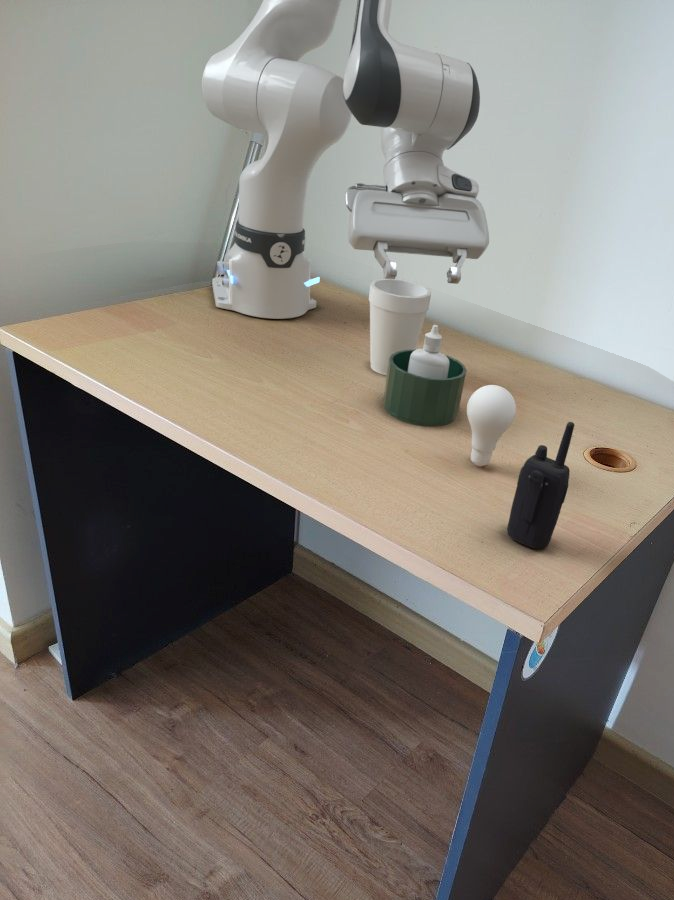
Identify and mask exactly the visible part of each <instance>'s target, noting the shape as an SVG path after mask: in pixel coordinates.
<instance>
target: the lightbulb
mask: <svg viewBox="0 0 674 900" xmlns="http://www.w3.org/2000/svg"><path fill="white" fill-rule="evenodd" d="M516 414H517V405H516V401H515V398H514V397H513V395H512V393H511V392H510V391H508V389H506V388H504V387H503V386H500V385H496V384H488V385H487V384H486V385H484V386H481V387H479V388H478V389H476V390H475V391H474V392H473V393H472V394H471V395H470V397H469V400H468V401H467V404H466V415H467V419H468V423H469V425H470V429H471V442H470V444H471V453H470V461H471V462H472V463H473V464H474V465H475V466H476V467H480V468H481V467H483V466H487V465H489V463H490V461H491V459H492V455H493V453H494V451H495V450H496V447H497V444H498V441H499V440H500V438H501V437H502V435H503V434H504V433H505V432H506V430H508V429H509V428H510V426H511V425H512V424H513V422H514V420H515V418H516Z"/></svg>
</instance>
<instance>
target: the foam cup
mask: <svg viewBox="0 0 674 900" xmlns="http://www.w3.org/2000/svg"><path fill="white" fill-rule="evenodd" d="M368 294H369V295H368V301H369V333H370V334H369V354H370V355H369V357H370V358H369V360H370V361H369V363H370V369H371V370H372V372H373V371H374V372H375V373H377V374H379V375H383V376H387V370H388V363H389V358H390V356H391V355H392V354H394V353H395V352H398V351H403V350H417V346H418V342H419V339H420V336H421V332H422V329H423V326H424V323H425V319H426V316H427V312H428V311H429V309H430V305H431V304H430V303H431V297H432V290H431V289H429V288H428V287H427V286H426V285H423V284H420V283H417V282H415V281H410V280H406V279H400V278H395V279H384V278H377V279H374V280H371V282H370V286H369V293H368Z"/></svg>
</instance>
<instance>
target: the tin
mask: <svg viewBox="0 0 674 900" xmlns="http://www.w3.org/2000/svg"><path fill="white" fill-rule="evenodd" d="M413 351H415V350H403V351H398V352H395V353H394V354H392V355H391V356H390V358H389V363H388V370H387V375H386V377H385V385H384V392H383V393H384V394H383V400H382V401H383V403H382V405H383V406H382V407H383V409H384V410H385V412H387V414H389V415H390V416H391V417H393V418H395V419H397V420H399V421H401V422H405V423H407V424H412V425H415V426H423V427H440V426H441V427H442V426H446V425H450V424H452V423H454V422H455V421H456V420H457V418H458V415H459V412H460V406H461V401H462V396H463V392H464V385H465V381H466V376H467V371H468V369H467V367H466V366H465V364H464V363H462V362H461V361H460V360H459V359H456V358H454V357H452V356H450V355H448V354H444V355H445V356H446V357H447V358H448V359H449V370H448V376H447V378H444V379H437V378H427V377H422V376H417V375H414V374H411V373H408V366H409V360H410V356H411V354H412V352H413Z"/></svg>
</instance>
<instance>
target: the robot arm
mask: <svg viewBox="0 0 674 900" xmlns="http://www.w3.org/2000/svg"><path fill="white" fill-rule="evenodd" d="M342 1H343V0H262V2H261V4H260V6H259V8H258V10H257V12H256V14H255V15H254V17H252V20H250V23H249V24H248V26H247V27H246V28H245V29H244V30H243V32H242V33H241V34H240V35H239V36H238V37H237V38H236V39H235V40H234V41H233V42H231V44H229V45H228V46H227V47H225V48H223V49H222V50H219V51H218V52H216V53H214V54H213V55H211V56H210V58H209V59H208V61H207V62H206V64H205V66H204V69H203V71H202V77H201V92H202V95H203V96H202V97H203V100H204V103H205V106H206V108H207V110H208V111H209V113H210V114H211V115H212V116H213V117H215V118H216V119H218V120H220V121H223V122H224V123H226V124H228V125H230V126H232V127H234V128H237V129H239V130H244V131H249V132H253V133H257V134H261V135H266V136H268V139H267V140H268V141H267V147H266V150H265V153H264V155H263V156H262V158H260V159H256V160H255V161H253V162H251V163H249V164H247V165H246V167H245V168H244V169H243V170H242V172H241V173H240V175H239V179H238V220H237V221H236V222H235V227H234V232H233V234H234V236H233V241H234V244H233V245H232V246H231V248H230V249H229V250H228V252H227V253H225V254H224V261H223V260H217V261H216V274H217V275H220V276H216V277H213V278H212V280H211V287H212V292H213V297H214V303H215V307H217V308H219V309H223V310H224V309H225V310H228V311H233V312H237V313H240V314H243V315H247V316H250V317H256V318H261V319H273V320H276V319H277V320H279V319H280V320H281V319H282V320H285V319H294V318H299V317H301V316H304V315H305V314H306V313H307V312H308V311H310V310H312V309H315V308H317V300H315V299H313V298H312V297H311V286H313V285H315V284H318V283H320V279H321V278H320V276H317V277H315V278H311V262H310V261H309V260H308V258H307V257H306V256H305V255H304V252H305V247H306V245H305V244H306V229H305V228H304V220H305V219H304V218H305V208H306V198H307V192H308V191H307V190H308V185H309V180H310V177H311V175H312V172H313V171H314V168H315V166H316V164H317V162H318V161H319V159H320V158H321V157H322V155H323V154H324V153H325V152H326V151H327V150H328V149H329V148H330V147H332V146H333V145H335V144H336V143H338V142H339V141H340V140H341V139H342V138H343V137H344V136H345V134H346V132H347V130H348V129H349V127H350V124H351V120H352V116H353V117H354V118H355V120H356V121H357V123H359V124H360V125H362V126H367V127H368V126H369V127H378V128H380V145H381V151H382V153H383V156H384V164H383V185H380V184H379V185H378V184H365V183H361V182H359V183H355V184H354V185H352V186H350V187H348V188H347V189H346V191H345V197H344V198H345V205H346V208H347V211H349V212H350V213H349V218H348V234H347V235H348V237H347V238H348V243H349V244H350V246H351V247H352V248H353V249H354V250H357V251H358V250H359V251H370V252H371V251H372V252H373V253H374V258H375V260H376V261H377V262H378V264H379V266H381V268H382V271H383V279H396V277H397V275H398V269H397V267H398V266H397V265H398V264H397V262H396V261H391V259H390V258H389V256H388V254H387V253H397V254H407V255H408V254H409V255H420V256H432V257H433V256H434V257H445V258H452V263H453V264H455V266H450V267H449V269H448V270H447V272H446V278H447V283H448V284H453V285H454V284H455V285H458V284H459V283H460V281H461V279H462V271H461V268H462V267H463V264H464V263H465V261H466V259H470V260H479V258H481V256H482V255H483V254H484V253H485V252H486V251H487V249H488V247H489V244H490V232H489V225H488V220H487V216H486V210H485V209H484V206H483V204H482V203H481V201H479V200H478V199H477V197H478V194H479V191H480V189H479V188H480V187H479V184H478V182H477V181H476V180H474V179H472V178H469V177H467V176H465V175H462V174H461V173H458V172H456V171H454V170H452V169H450V168H449V167H447V166H445V164H444V161H443V154H444V152H445V151H446V150H447V151H448V150H450V149H452V148H453V147H454V146H455V145H457V144H458V143H459V142H460V141H461V140H462V139H463V138H464V137H465V136H467V134H469V132H470V131H471V130H472V129H473V127H474V126H475V124H476V122H477V120H478V117H479V112H480V106H481V105H480V104H481V94H480V93H481V92H480V85H479V80H478V77H477V74H476V72H475V70H474V68H473V67H472V65H471V64H470V63H469V62H465V61H463V60H461V59H459V58H455V57H451V56H449V55H445V54H441V53H437V52H431V51H428V50H424V49H421V48H417V47H414V46H410V45H407V44H404V43H403V42H402V43H401V42H400V41H398V40H397V39H395V38H394V37H393V36H391V34H390V33H389V26H390V18H391V10H392V4H393V3H392V2H393V0H357V3H356V8H355V9H356V10H355V16H354V23H353V31H352V38H351V44H350V50H349V56H348V60H347V63H346V66H345V70H344V75H343V78H342V76H340V75H337V74H336V73H333V72H332V71H330V70H327V69H325V68H323V67H321V66H318V65H315V64H311V63H306V62H301V61H300V60H301V59H302V58H303V57H304V56H305V55H306V54H308V53H309V52H311V51H313V50H315V49H317V48H320V47H321V46H323V45H324V44H325V43H327V42H328V40H329V39H330V37H331V36H332V34H333V32H334V29H335V25H336V21H337V18H338V14H339V12H340V7H341V5H342Z"/></svg>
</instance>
